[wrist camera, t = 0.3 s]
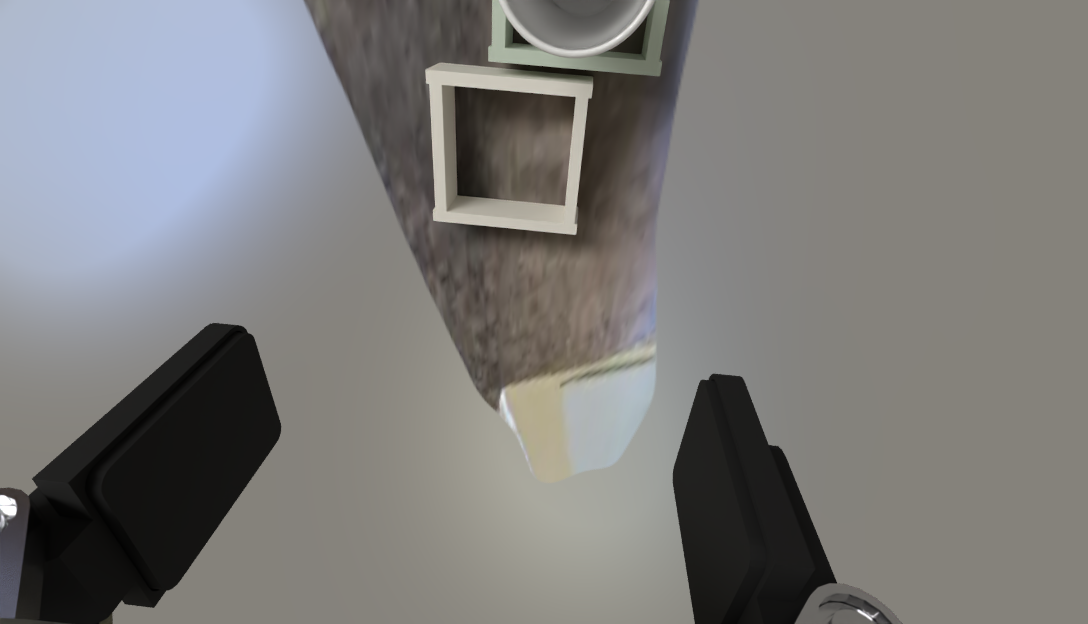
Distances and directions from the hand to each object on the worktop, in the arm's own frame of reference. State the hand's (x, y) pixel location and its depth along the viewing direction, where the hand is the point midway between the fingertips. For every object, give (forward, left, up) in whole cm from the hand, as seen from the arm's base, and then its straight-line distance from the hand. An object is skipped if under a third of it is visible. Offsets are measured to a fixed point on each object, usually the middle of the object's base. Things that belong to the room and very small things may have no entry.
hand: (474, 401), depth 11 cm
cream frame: (+3, -3, -30) cm, 30 cm away
